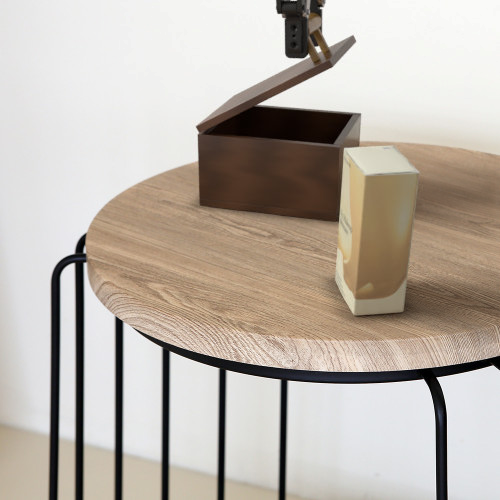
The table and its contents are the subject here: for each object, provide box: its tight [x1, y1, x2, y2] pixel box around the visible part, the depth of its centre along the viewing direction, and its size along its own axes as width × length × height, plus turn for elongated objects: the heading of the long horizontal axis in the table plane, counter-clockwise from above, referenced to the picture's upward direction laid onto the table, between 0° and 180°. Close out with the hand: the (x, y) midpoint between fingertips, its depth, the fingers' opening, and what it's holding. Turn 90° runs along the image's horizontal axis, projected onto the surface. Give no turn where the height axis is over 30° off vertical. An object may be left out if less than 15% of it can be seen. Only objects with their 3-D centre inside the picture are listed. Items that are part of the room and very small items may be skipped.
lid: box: [195, 13, 357, 134], centre depth 82 cm, size 15×13×5 cm
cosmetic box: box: [334, 144, 420, 317], centre depth 63 cm, size 6×4×12 cm
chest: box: [197, 104, 362, 222], centre depth 86 cm, size 15×13×8 cm
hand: (304, 50), depth 80 cm, fingers closed on lid, 5 cm apart
